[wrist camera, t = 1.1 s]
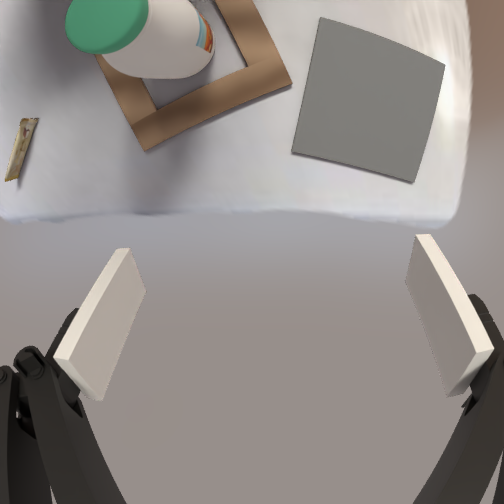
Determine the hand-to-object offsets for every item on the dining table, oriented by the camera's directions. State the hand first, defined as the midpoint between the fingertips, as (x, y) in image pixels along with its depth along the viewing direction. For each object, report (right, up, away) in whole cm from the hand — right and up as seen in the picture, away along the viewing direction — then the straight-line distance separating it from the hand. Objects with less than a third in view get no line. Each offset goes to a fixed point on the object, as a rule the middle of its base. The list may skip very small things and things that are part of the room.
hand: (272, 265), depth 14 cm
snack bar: (-31, +15, +19) cm, 40 cm away
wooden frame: (-9, +22, +14) cm, 28 cm away
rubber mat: (+13, +17, +17) cm, 28 cm away
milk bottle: (-9, +23, +14) cm, 28 cm away
